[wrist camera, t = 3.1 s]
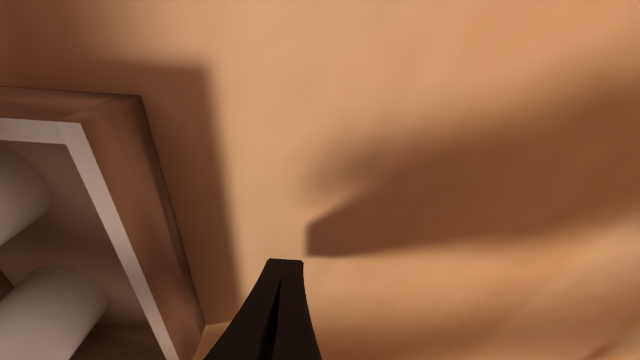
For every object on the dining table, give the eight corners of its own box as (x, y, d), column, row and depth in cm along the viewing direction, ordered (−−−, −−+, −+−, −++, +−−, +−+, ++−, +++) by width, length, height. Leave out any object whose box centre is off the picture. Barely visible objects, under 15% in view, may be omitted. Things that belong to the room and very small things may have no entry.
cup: (119, 316, 14) (54, 411, 11) (49, 312, 14) (-38, 406, 11) (93, 269, 12) (4, 367, 9) (13, 264, 12) (-106, 360, 9)
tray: (205, 326, 16) (185, 375, 14) (46, 316, 16) (1, 364, 13) (140, 95, 9) (80, 123, 7) (-145, 76, 9) (-297, 97, 7)
